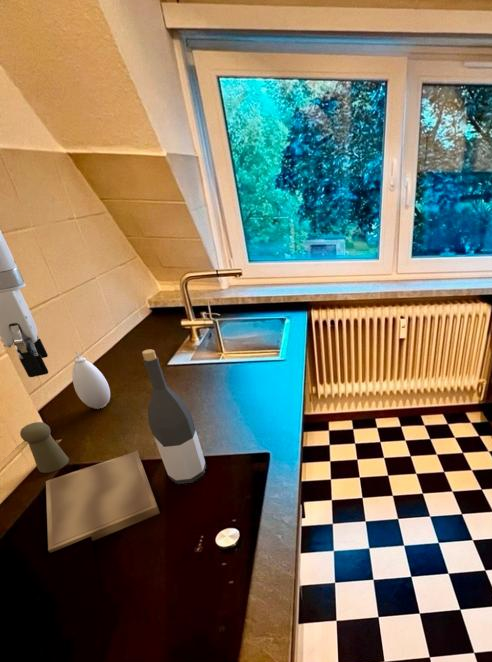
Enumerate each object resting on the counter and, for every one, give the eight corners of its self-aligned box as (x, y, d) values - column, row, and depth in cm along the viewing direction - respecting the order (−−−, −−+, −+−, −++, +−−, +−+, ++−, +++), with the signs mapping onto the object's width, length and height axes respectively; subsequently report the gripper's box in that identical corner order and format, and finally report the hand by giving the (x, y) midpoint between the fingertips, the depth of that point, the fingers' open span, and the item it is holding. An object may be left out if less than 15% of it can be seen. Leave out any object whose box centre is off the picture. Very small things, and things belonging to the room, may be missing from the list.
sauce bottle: (80, 407, 112) (53, 350, 102) (109, 397, 117) (86, 341, 107) (91, 417, 108) (63, 358, 98) (120, 406, 113) (97, 348, 103)
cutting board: (53, 557, 69) (47, 550, 68) (49, 487, 84) (45, 480, 83) (160, 513, 78) (157, 506, 77) (139, 457, 93) (137, 450, 92)
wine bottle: (211, 477, 87) (175, 353, 70) (173, 490, 83) (125, 364, 67) (202, 457, 92) (167, 339, 76) (166, 469, 89) (121, 348, 73)
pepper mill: (70, 453, 94) (50, 415, 88) (67, 468, 90) (45, 429, 84) (40, 460, 92) (18, 422, 86) (36, 475, 87) (11, 436, 81)
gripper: (-25, 274, 74) (18, 356, 83) (-38, 294, 62) (14, 388, 71) (23, 269, 78) (59, 348, 87) (20, 287, 66) (62, 377, 75)
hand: (39, 366), depth 79 cm, fingers open, 9 cm apart
